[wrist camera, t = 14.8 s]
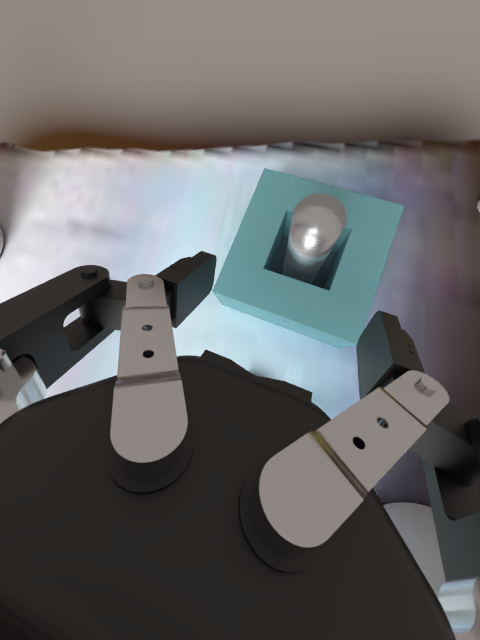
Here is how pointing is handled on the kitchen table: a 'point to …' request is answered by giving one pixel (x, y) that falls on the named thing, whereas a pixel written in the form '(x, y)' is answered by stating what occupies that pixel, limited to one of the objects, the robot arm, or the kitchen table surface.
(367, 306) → the socket block
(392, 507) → the cylinder vase
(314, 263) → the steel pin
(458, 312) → the kitchen table surface
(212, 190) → the kitchen table surface
